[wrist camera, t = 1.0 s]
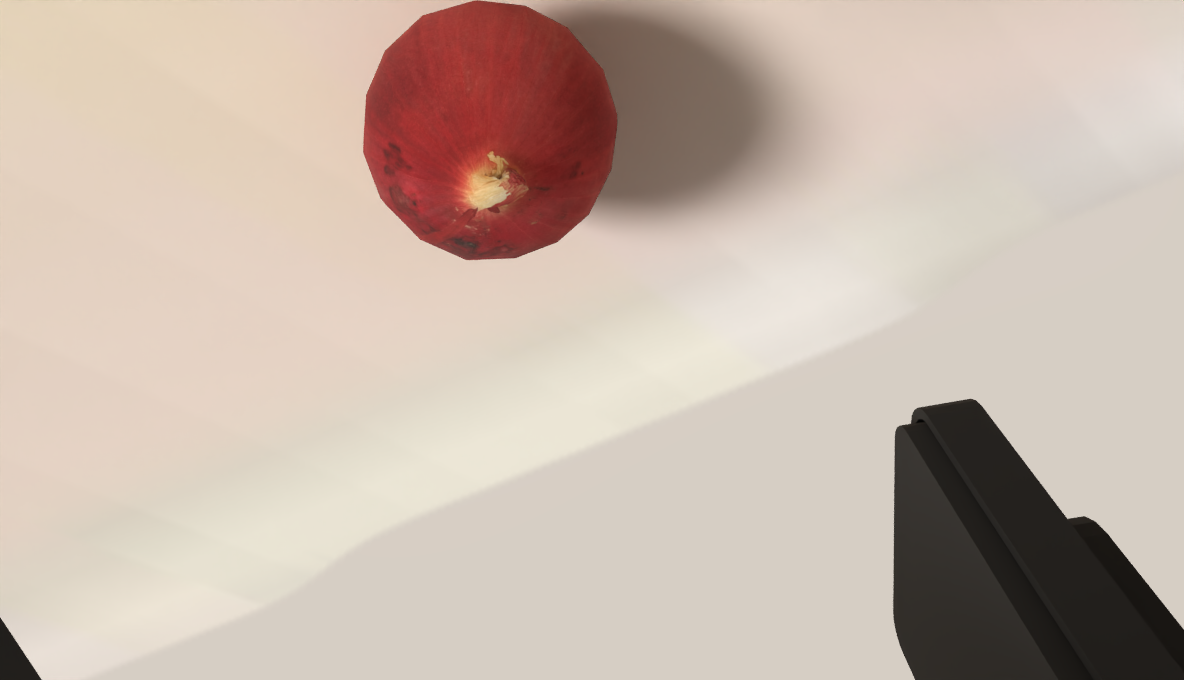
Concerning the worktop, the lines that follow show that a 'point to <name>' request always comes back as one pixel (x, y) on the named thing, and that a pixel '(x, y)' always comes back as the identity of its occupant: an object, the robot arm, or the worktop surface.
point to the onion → (489, 130)
